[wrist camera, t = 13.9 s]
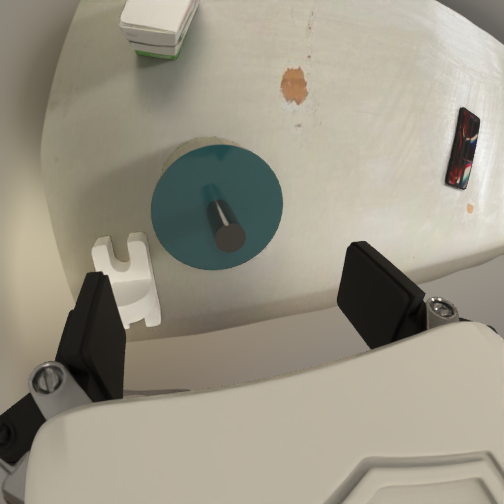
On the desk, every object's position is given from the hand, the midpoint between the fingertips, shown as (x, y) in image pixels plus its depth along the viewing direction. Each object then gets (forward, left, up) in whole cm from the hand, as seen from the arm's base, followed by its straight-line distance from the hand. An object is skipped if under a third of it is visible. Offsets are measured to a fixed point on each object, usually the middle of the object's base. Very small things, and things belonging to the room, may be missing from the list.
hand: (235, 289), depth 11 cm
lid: (+3, -2, -18) cm, 18 cm away
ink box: (-8, +15, -26) cm, 31 cm away
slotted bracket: (-4, -17, -26) cm, 31 cm away
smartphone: (+43, +20, -26) cm, 54 cm away
